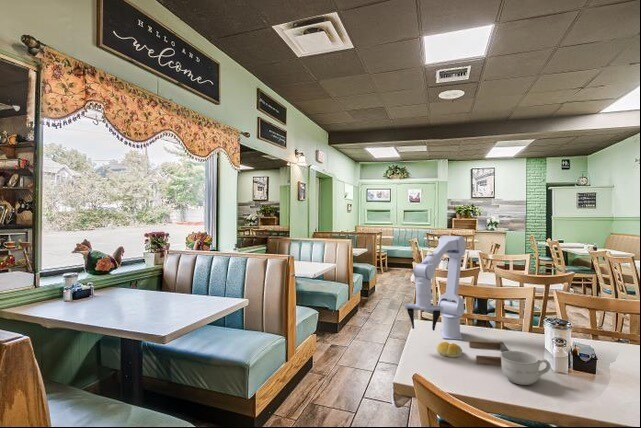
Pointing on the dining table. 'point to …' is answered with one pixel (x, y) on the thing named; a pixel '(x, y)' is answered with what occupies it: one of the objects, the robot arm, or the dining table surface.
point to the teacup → (522, 367)
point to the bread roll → (449, 350)
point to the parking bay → (488, 345)
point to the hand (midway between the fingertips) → (423, 328)
